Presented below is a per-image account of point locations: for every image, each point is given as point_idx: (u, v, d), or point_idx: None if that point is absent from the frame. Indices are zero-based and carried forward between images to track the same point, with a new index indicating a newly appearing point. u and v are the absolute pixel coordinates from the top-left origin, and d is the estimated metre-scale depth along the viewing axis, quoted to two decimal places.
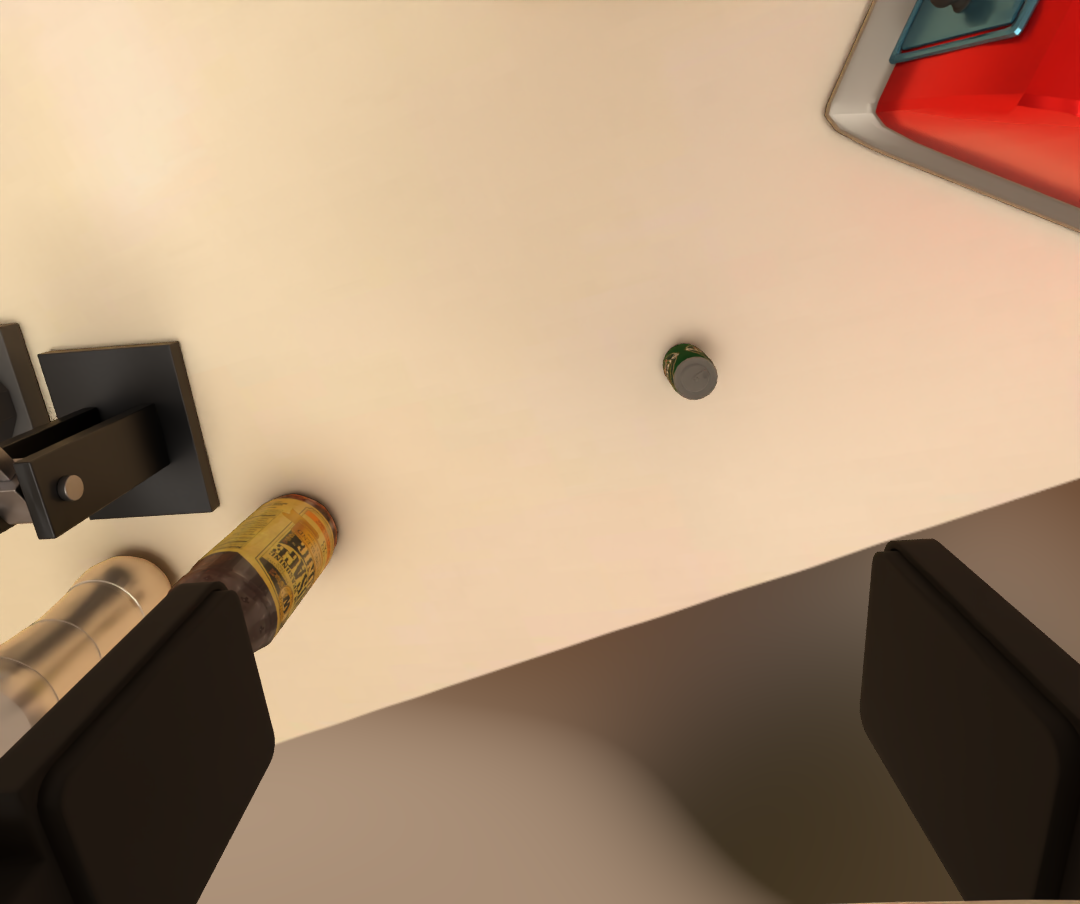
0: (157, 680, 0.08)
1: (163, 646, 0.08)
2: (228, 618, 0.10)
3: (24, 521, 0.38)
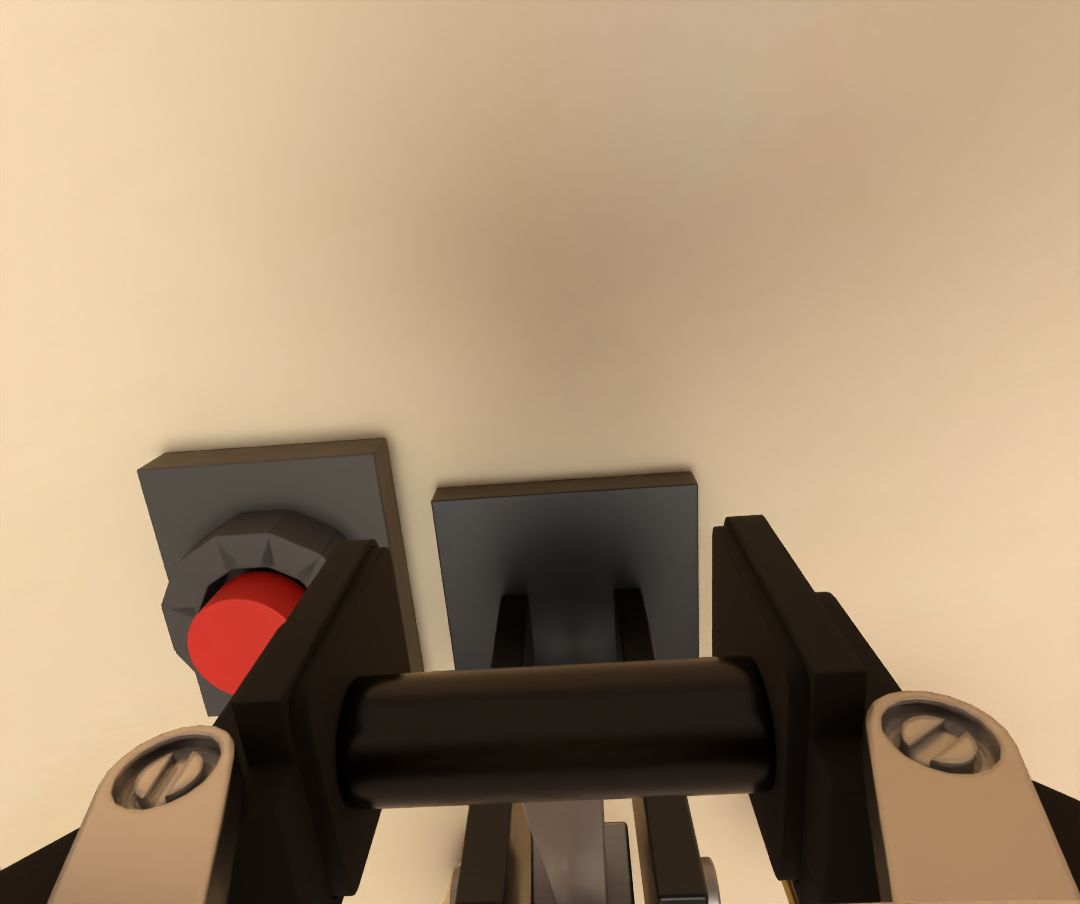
0: (352, 619, 0.09)
1: (347, 591, 0.09)
2: (385, 572, 0.10)
3: None
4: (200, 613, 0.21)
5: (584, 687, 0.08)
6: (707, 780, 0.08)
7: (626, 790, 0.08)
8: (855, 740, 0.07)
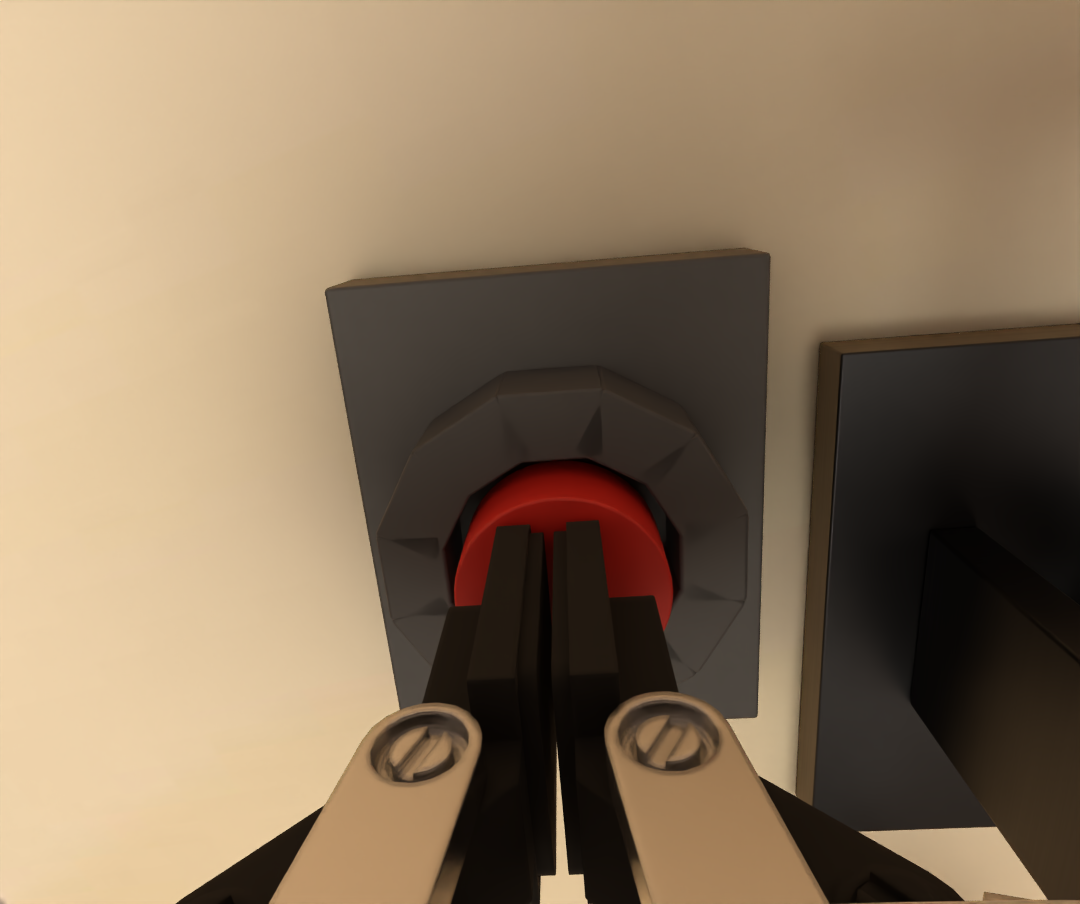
0: (540, 601, 0.09)
1: (525, 574, 0.09)
2: (544, 557, 0.10)
3: None
4: (489, 526, 0.11)
5: None
6: None
7: None
8: None
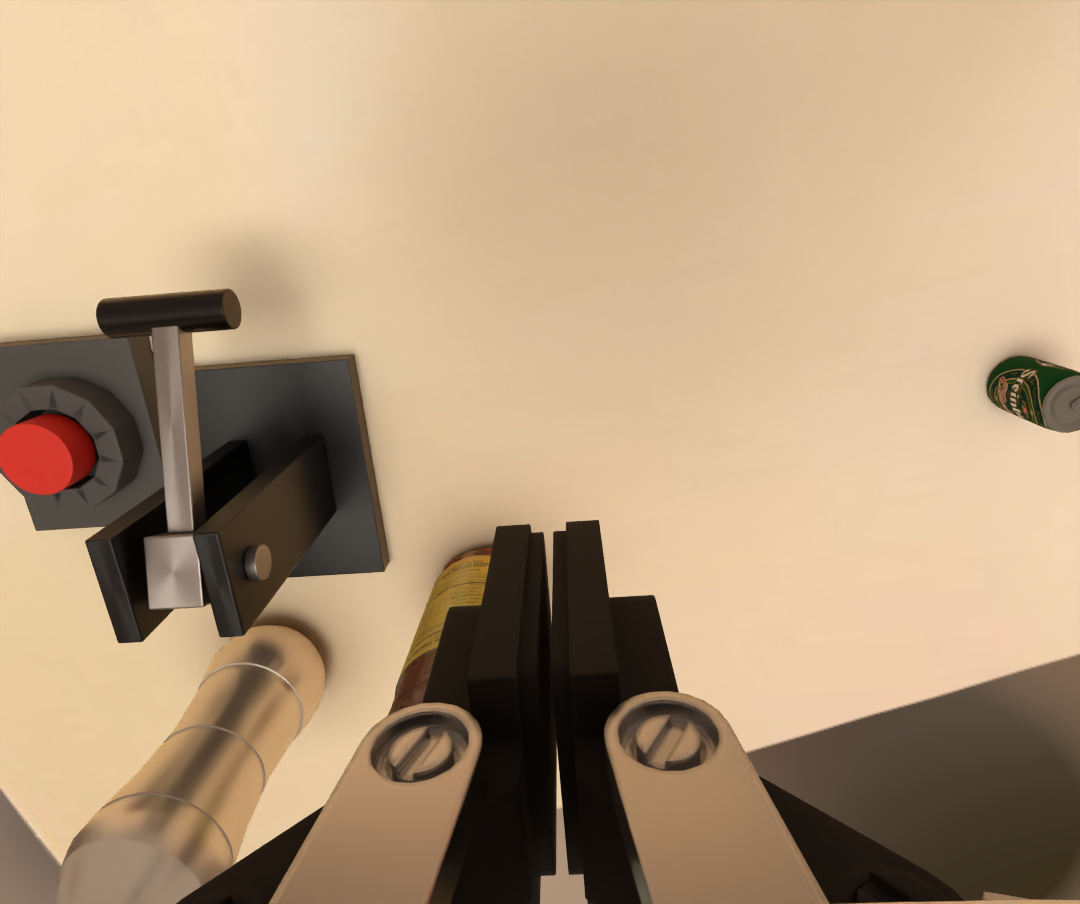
0: (540, 600, 0.09)
1: (525, 574, 0.09)
2: (544, 557, 0.10)
3: (174, 603, 0.26)
4: (3, 434, 0.32)
5: None
6: (202, 300, 0.26)
7: (179, 305, 0.26)
8: None
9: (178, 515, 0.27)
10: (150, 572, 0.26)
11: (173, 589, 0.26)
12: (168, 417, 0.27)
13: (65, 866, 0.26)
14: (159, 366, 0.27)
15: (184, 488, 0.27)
